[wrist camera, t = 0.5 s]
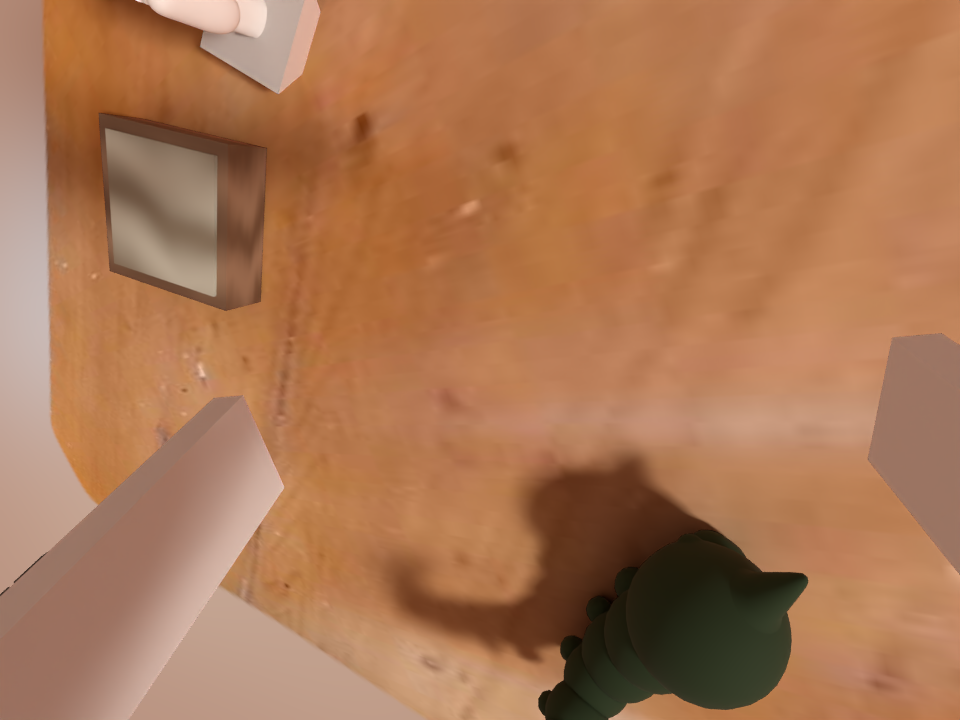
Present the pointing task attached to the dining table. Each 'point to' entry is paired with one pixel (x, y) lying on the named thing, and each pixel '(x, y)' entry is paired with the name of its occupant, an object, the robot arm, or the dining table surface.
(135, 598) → the robot arm
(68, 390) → the dining table surface
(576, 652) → the toy figurine
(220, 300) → the walnut pedestal
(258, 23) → the figurine
